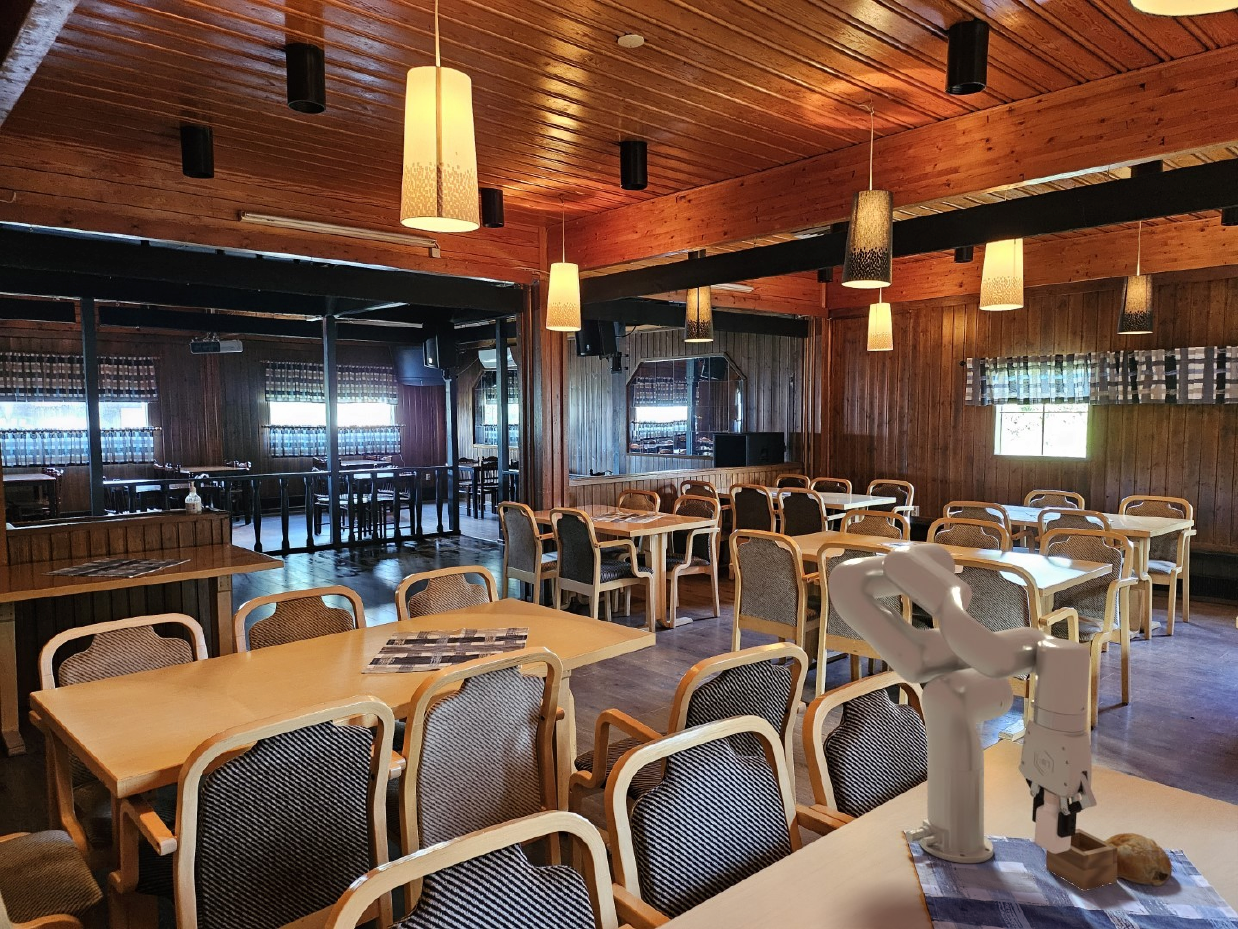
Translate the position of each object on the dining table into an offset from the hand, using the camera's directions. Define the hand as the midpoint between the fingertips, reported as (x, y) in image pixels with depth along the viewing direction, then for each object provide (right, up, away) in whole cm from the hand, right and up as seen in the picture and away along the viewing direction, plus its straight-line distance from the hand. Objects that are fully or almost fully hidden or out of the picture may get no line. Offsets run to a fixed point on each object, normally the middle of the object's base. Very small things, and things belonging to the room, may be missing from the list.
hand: (1053, 827), depth 135 cm
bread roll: (+18, -11, +8) cm, 22 cm away
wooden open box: (+8, -11, +6) cm, 15 cm away
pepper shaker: (0, -4, 0) cm, 4 cm away
